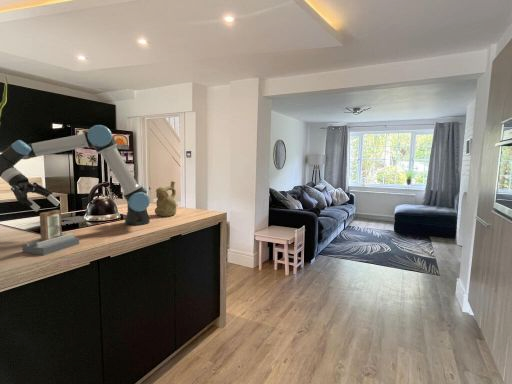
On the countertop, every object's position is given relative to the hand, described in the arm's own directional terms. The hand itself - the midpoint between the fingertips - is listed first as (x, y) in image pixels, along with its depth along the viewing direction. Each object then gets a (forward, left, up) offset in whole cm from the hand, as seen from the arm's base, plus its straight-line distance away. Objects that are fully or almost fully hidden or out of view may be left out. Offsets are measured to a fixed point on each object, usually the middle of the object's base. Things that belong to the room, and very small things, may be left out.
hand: (48, 206), depth 147 cm
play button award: (-35, -25, -17) cm, 47 cm away
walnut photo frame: (+11, +14, -14) cm, 23 cm away
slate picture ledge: (+11, +15, -17) cm, 25 cm away
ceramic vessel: (-77, +20, -17) cm, 81 cm away
